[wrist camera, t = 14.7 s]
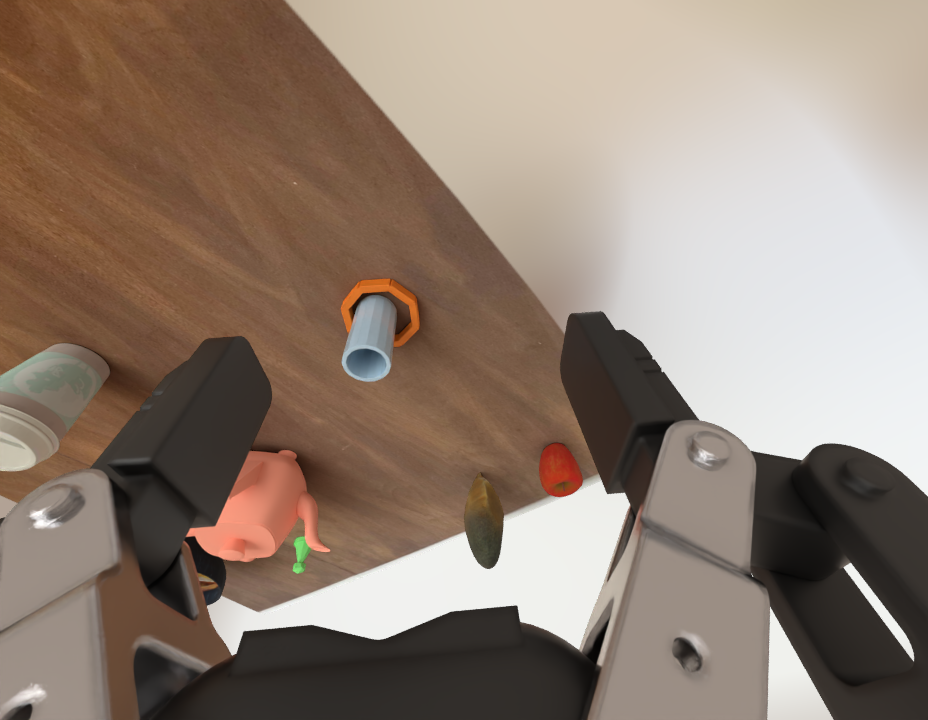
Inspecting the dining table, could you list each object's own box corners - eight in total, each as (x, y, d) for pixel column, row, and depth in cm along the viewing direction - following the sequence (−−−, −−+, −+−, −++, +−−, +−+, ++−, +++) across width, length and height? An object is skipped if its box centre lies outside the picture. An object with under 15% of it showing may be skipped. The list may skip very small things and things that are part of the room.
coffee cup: (140, 384, 45) (67, 468, 36) (73, 393, 45) (-18, 479, 36) (87, 327, 40) (-17, 410, 31) (10, 338, 40) (-115, 423, 31)
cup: (352, 296, 40) (336, 347, 33) (393, 293, 40) (386, 343, 33) (361, 329, 42) (348, 383, 36) (399, 326, 43) (394, 379, 36)
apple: (531, 440, 58) (542, 483, 52) (570, 433, 57) (586, 475, 52) (534, 463, 62) (545, 504, 56) (571, 456, 62) (585, 497, 56)
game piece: (316, 536, 73) (308, 568, 68) (317, 546, 75) (310, 578, 71) (293, 536, 72) (283, 568, 67) (295, 546, 75) (286, 578, 70)
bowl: (193, 507, 63) (160, 570, 56) (259, 547, 74) (240, 604, 66) (114, 529, 66) (72, 591, 58) (189, 564, 77) (162, 621, 69)
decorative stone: (492, 487, 66) (506, 579, 54) (459, 488, 65) (465, 581, 54) (500, 454, 60) (516, 550, 48) (462, 455, 59) (470, 552, 48)
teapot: (253, 417, 50) (208, 511, 40) (347, 470, 60) (330, 558, 49) (187, 463, 56) (132, 557, 45) (282, 505, 65) (255, 591, 55)
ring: (337, 281, 38) (334, 288, 37) (413, 276, 39) (413, 283, 38) (354, 342, 44) (352, 350, 42) (422, 337, 44) (421, 345, 43)
